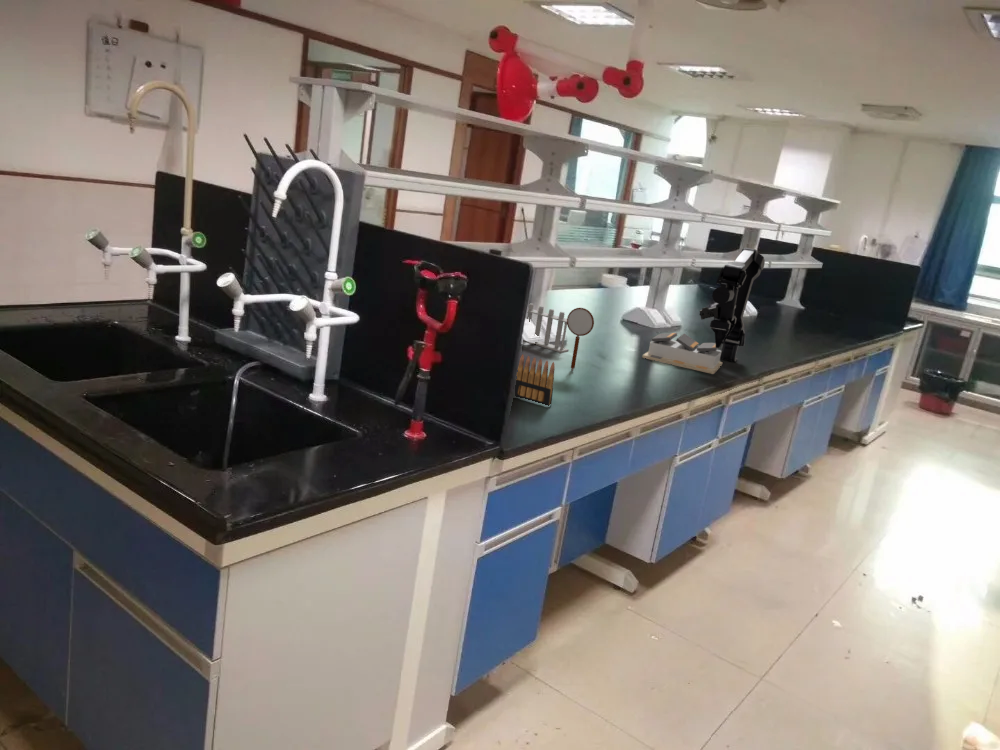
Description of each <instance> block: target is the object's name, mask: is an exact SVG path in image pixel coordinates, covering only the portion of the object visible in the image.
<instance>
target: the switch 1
mask: <svg viewBox="0 0 1000 750" xmlns="http://www.w3.org/2000/svg"><path fill="white" fill-rule="evenodd" d="M677 336H678V333H677V332H669V333H659V334H657V335H656V336H654V337H652V338H651V342H652V341H670V340H674V338H676V337H677Z"/></svg>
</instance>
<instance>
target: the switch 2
mask: <svg viewBox="0 0 1000 750" xmlns="http://www.w3.org/2000/svg"><path fill="white" fill-rule="evenodd" d="M698 346H699V347H698V348H697V351H716V350H719V349H720V347H721V348H722V344H721V345H720V347H719V348H717V347H716V344H715V342H702V343H701V344H699V345H698Z"/></svg>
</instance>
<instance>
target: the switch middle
mask: <svg viewBox="0 0 1000 750" xmlns="http://www.w3.org/2000/svg"><path fill="white" fill-rule="evenodd" d="M675 341H677V342H679V343H680V344H681V345H683V346H684V347H686V348H687V349H689V350H690V351H692V350H693V349H694V348H696V347H697V346H700V343H699V342H698V341H696V340H695V339H693V338H692V337H691V336H689V335H687V334H686V333H683V334H681V335H680V336H678V337H677V338H676V340H675Z"/></svg>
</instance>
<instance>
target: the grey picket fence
mask: <svg viewBox="0 0 1000 750" xmlns="http://www.w3.org/2000/svg"><path fill="white" fill-rule="evenodd" d="M528 305H529V310H528V312H527V313H528V317H529V322H530V319H531V320H532V317H533V314H534V315H536V321H535V322H536V324H535V328H534V329H535V330H534V335H535V334H536V335H537V336H539V337H540V336H541V335H540V334H541V329H542V328H541V327H542V322H543V317H545V318H547V323H546V328H545V334H544V340H543V341H542V342H535V344H536V345H535V346H538V347H541V348H545V349H548V350H552V351H554V352H557V353H560V354H562V353H568V352H569V349H567V348H564V345H565V339H566V333H567V328H568V325H567V318H566V317H565V315H566V314H565V312H564V311H560V312H559V315H558V316H557V315H554V313H555V310H554V309H553V308H549V309H548V313H547V312H545V311H544V306H542V305H541V306H540V305H539V306H538V310H536V309H534V303H530V304H529V303H528ZM528 317H527V316H526V319H528ZM553 320H556V321H557V327H556V334H555V340H554V344H552V343H550V340H551V339H550V338H551V334H552V333H551V331H552V326H553ZM563 325H564V326H563ZM561 337H562V339H561ZM560 344H561V345H560Z"/></svg>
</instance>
